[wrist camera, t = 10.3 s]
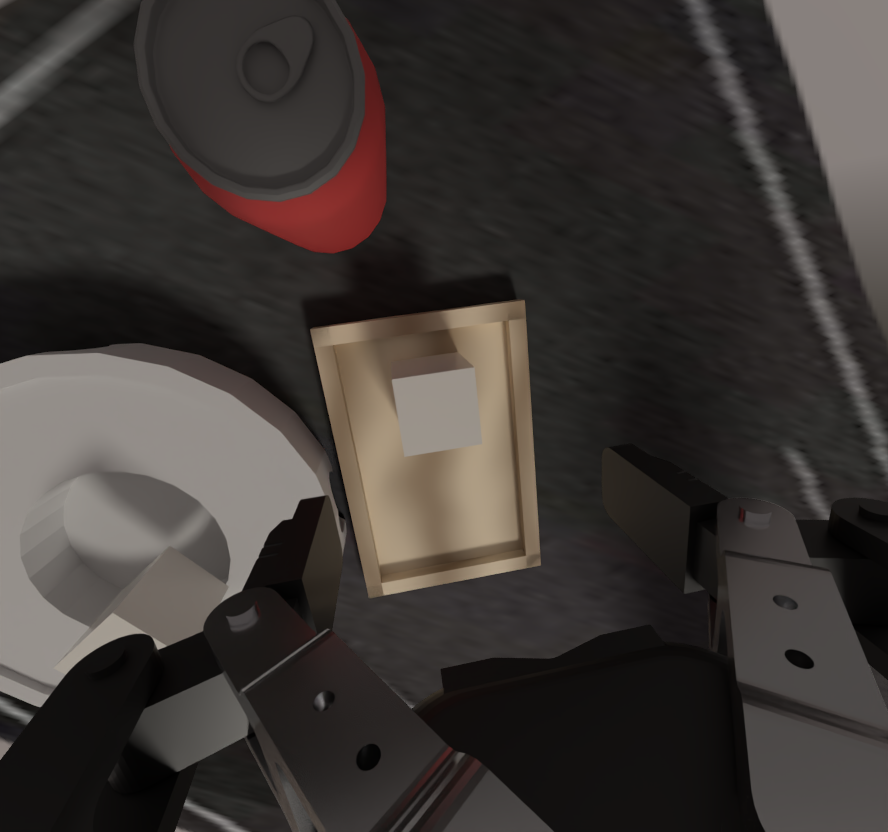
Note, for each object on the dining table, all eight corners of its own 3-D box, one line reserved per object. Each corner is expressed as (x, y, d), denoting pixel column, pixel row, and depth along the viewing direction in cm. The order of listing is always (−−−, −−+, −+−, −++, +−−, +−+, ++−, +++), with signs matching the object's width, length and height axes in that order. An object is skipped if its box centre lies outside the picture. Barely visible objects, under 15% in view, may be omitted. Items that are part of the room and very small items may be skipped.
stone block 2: (457, 351, 25) (474, 367, 20) (465, 415, 26) (482, 444, 21) (390, 361, 24) (391, 379, 20) (401, 425, 26) (404, 456, 21)
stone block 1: (169, 545, 23) (112, 612, 18) (229, 586, 24) (190, 659, 19) (121, 590, 23) (53, 668, 18) (182, 629, 24) (132, 710, 20)
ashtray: (47, 252, 21) (-26, 244, 18) (414, 474, 28) (418, 503, 24) (-115, 578, 25) (-203, 629, 22) (240, 707, 32) (220, 765, 28)
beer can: (412, 195, 22) (436, 99, 11) (326, 280, 23) (265, 273, 12) (321, 82, 20) (237, -175, 9) (229, 178, 21) (46, 52, 10)
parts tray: (517, 299, 25) (524, 300, 23) (534, 553, 30) (540, 565, 29) (314, 327, 24) (310, 329, 22) (369, 584, 29) (369, 598, 28)
